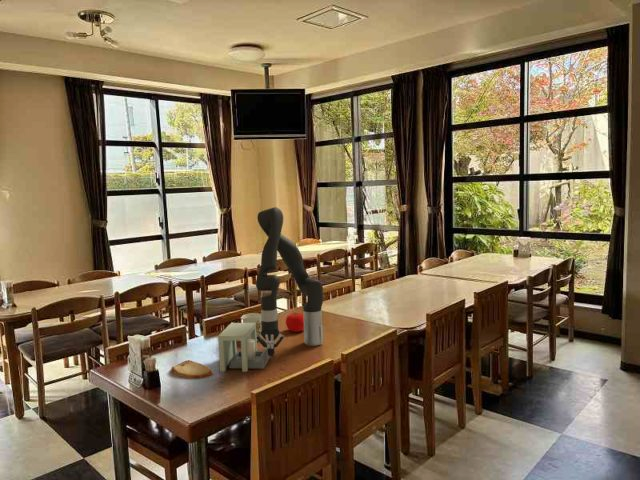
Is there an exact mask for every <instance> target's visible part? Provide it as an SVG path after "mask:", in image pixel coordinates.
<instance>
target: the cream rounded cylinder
mask: <svg viewBox="0 0 640 480" xmlns="http://www.w3.org/2000/svg"><path fill="white" fill-rule="evenodd" d="M247 359H248V361H255V360H256V350H255V340H253V339H247Z"/></svg>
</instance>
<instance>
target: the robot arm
mask: <svg viewBox="0 0 640 480" xmlns="http://www.w3.org/2000/svg"><path fill="white" fill-rule="evenodd" d="M256 219H257V223H258V225H259V227H260V228H261V230H262V231H263V233H264V234H265V235H266V236H267V240H266V242H265V243H264V246H263V248H262V251H261V258H260V260H261V261H260V268H259V271H258V274H257V277H256V279H255V287H256V289H257V290H258V291H259V292H267V291H269V292H270V291H271V293H270V294H267V295H262V296H261V298H260V314H261V326H262V331H261V334H260V335H258V336H257V340H258V341H257V342H259V344H261V346H262V347H263V348H267V349H268V355H269V356H270V357H273V356H274V355H275V348H278V346H279V345H280V344H281V342H282V341H283V339H284V338H285V335H284V334H281V333H280V330H279V314H278V307H277V306H278V304H277V298H278V292H279V288H280V285H281V284H280V283H281V281H280V278H279V276H278V275H277V274H268V273H269V272H274V271H276V270H277V264H278V263H277V262H278V254H279V257H281V259H282V261H283V263H284V264H285V266H286V267H287V269H288V270H289V272H290V274H291V275H292V277H293V279H294V280H295V283H296V284H297V287H298V290H299V292H300V293H301V294H302V295H303V296H305V297H306V303H304V304H303V305H302V306H303V309H302V311H303V313H302V314H303V318H304V329H303V338H304V339H303V342H304V344H305V345H306V346H310V347H312V346H321V345H323V342H324V334H323V332H324V331H323V330H324V329H323V327H324V326H323V319H322V317H323V315H322V306H323V303H324V288H323V283H322V282H321V281H320V280H318V279H315V278H312V277H311V276H310V275H309V273H308V272H307V270H306V269H305V267H304V259H303V256H302V253H301V251H300V250H299V248H298V246H297V245H296V243H295V242H293V240H291V239H290V238H288V237H286V236H284V235H283V233H282V228H283V224H284V215H283V211H282V210H281V209H280V208H279V207H278V206H277V207H270V208H267V209H264V210H261V211H259V212H258V213H257V218H256ZM277 339H278V340H277ZM276 340H277V341H276ZM275 341H276V342H275Z"/></svg>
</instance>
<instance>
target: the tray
mask: <svg viewBox="0 0 640 480" xmlns="http://www.w3.org/2000/svg"><path fill="white" fill-rule="evenodd" d="M270 358H271V356H269V355H268V349H267V348H266V347H264V349H263V350H257V351H256V360H255V361H248V369H261V370H264V368H265V367H266V365H267V363H268V362H269V360H270ZM228 366H229V367H228V368H229V369H242V354H241V350H237V352H236V354H235V355H234V356H233V357H232V359H231V360H230V361H229V364H228Z"/></svg>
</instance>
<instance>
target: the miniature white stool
mask: <svg viewBox="0 0 640 480" xmlns="http://www.w3.org/2000/svg"><path fill="white" fill-rule="evenodd" d="M250 334H251V339H253V340H255V350H256V351H258V343H257V342H258V341H257V338H256V323H243V322H230V323H229V324H228V326H226V327H225V328H224V330H223V331H222V332H220V333H219V334H218V336H217V340H218V355H219V358H218V360H219V371H220V372H225V371H227V366H229V361H230V360H231V359H232V357H233V356H234V355H235V354H236V352H237V351H238V350H237V348H238V347H237V342H238V341H240V349H241V350H240V351H241V354H242V368H241V370H242V373H243V372H244V373H245V372H248V371H249V368H248V359H247V340H246V339H247V338H248V336H249V335H250Z"/></svg>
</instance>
